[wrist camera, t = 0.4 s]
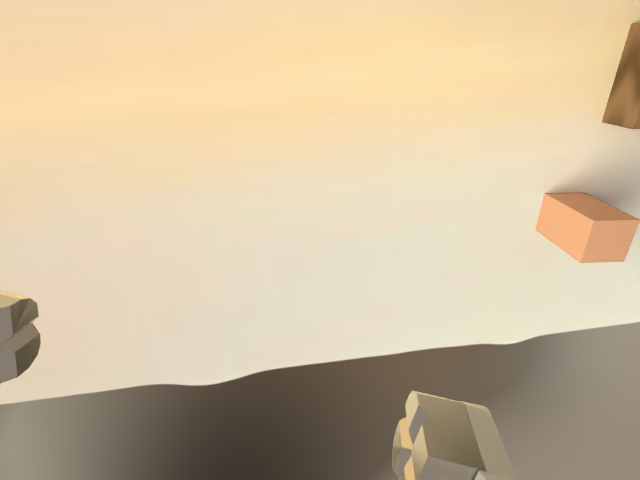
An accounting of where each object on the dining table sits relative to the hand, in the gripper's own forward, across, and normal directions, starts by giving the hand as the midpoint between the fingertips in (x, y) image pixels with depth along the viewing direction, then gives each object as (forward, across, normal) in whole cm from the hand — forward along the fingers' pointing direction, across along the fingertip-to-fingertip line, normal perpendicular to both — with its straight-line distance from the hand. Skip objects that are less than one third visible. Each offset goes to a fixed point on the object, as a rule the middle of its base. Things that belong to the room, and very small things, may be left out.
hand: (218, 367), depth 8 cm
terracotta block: (+44, -30, +3) cm, 53 cm away
